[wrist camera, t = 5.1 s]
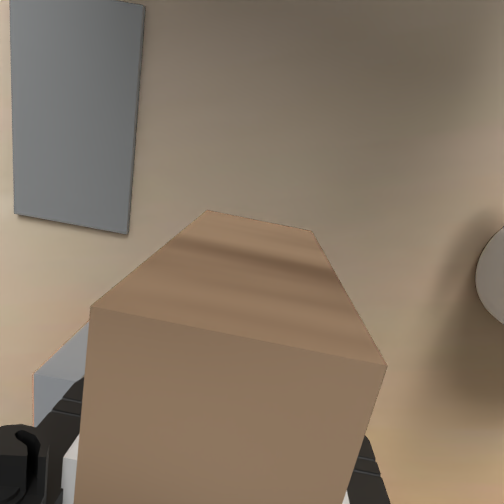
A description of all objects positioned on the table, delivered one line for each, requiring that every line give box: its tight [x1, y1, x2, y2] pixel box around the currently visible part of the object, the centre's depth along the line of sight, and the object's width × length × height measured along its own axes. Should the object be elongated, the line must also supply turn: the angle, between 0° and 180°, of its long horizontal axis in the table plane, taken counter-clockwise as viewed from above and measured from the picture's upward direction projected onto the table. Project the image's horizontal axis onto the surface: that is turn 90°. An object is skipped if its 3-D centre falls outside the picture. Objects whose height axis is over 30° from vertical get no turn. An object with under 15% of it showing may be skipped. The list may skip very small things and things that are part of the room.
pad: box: [10, 0, 145, 234], centre depth 24 cm, size 14×8×1 cm, turn 170°
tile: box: [32, 321, 89, 427], centre depth 25 cm, size 7×3×8 cm, turn 170°
